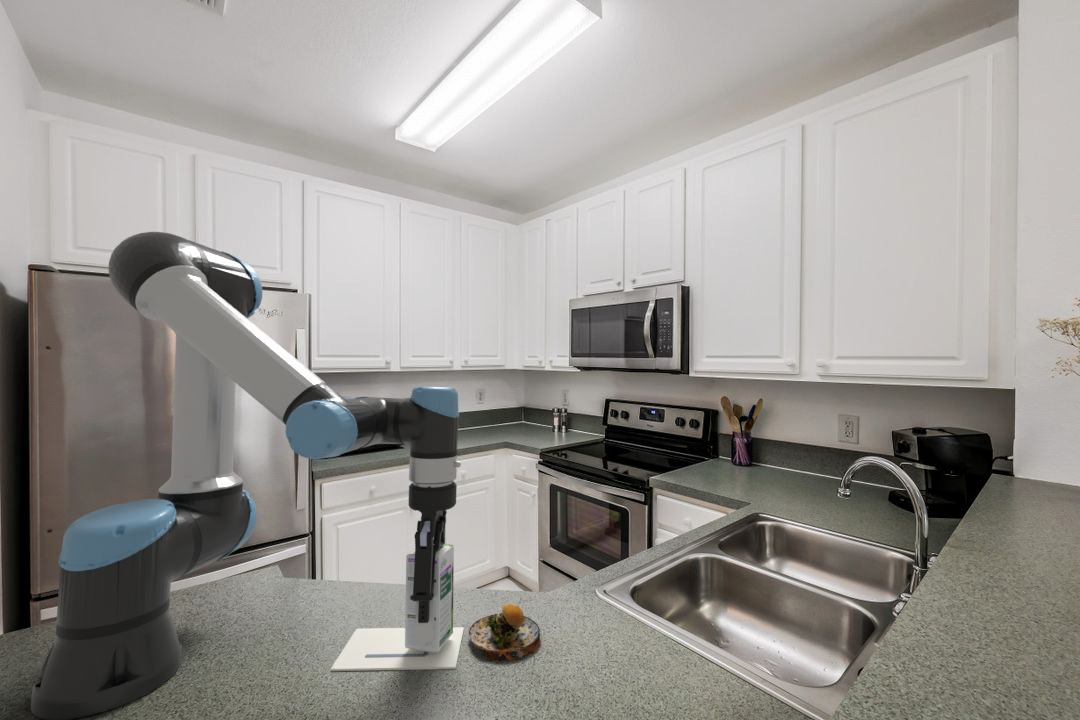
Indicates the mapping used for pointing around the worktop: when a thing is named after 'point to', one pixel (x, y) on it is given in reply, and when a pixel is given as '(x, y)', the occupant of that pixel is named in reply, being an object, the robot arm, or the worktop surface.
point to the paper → (394, 652)
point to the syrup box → (442, 600)
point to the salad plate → (506, 634)
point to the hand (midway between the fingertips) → (428, 628)
